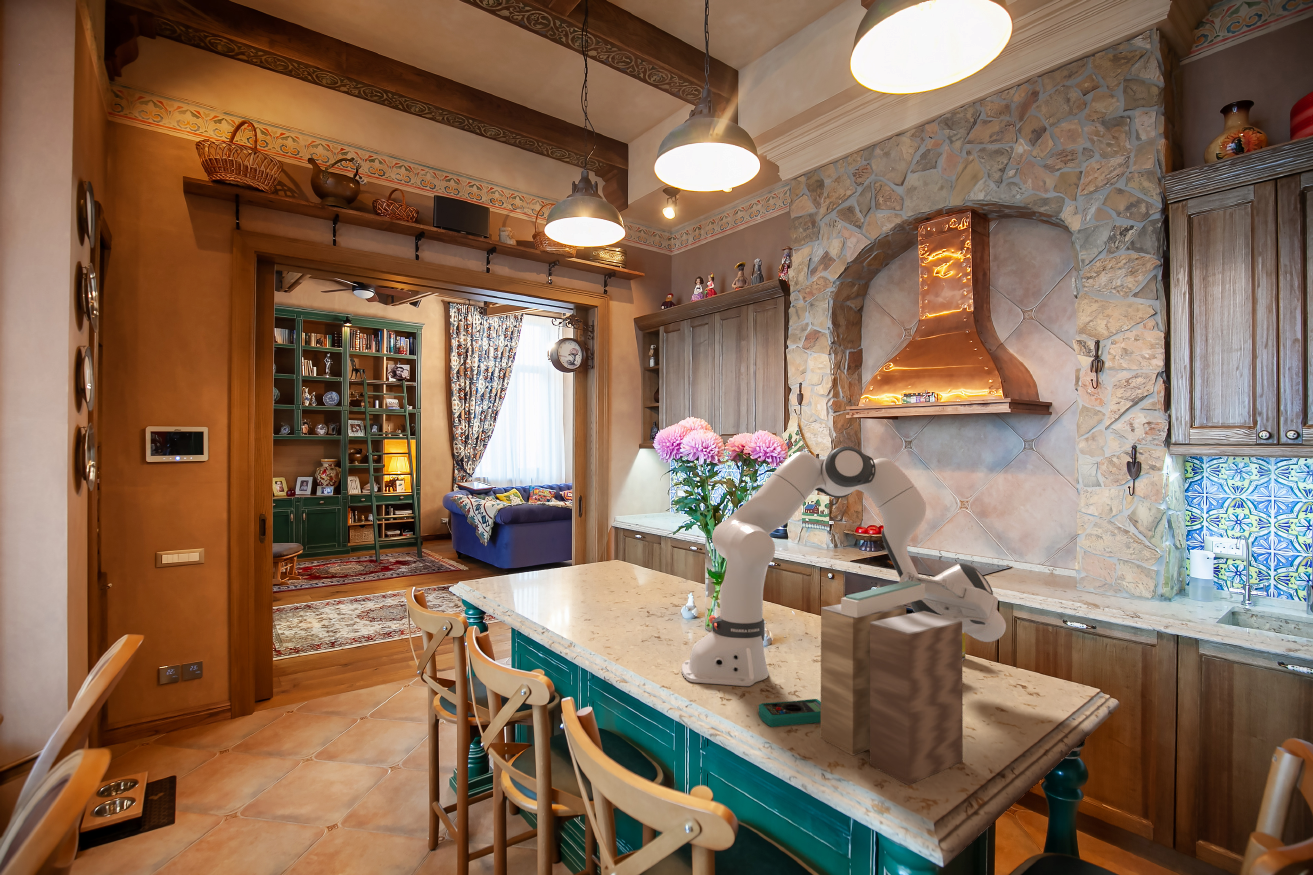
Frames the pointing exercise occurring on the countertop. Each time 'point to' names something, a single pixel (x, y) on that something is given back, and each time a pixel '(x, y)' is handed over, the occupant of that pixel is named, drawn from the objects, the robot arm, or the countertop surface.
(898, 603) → the bar
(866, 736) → the oak post
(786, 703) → the digital multimeter
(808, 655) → the countertop surface
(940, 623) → the walnut post
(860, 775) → the countertop surface
